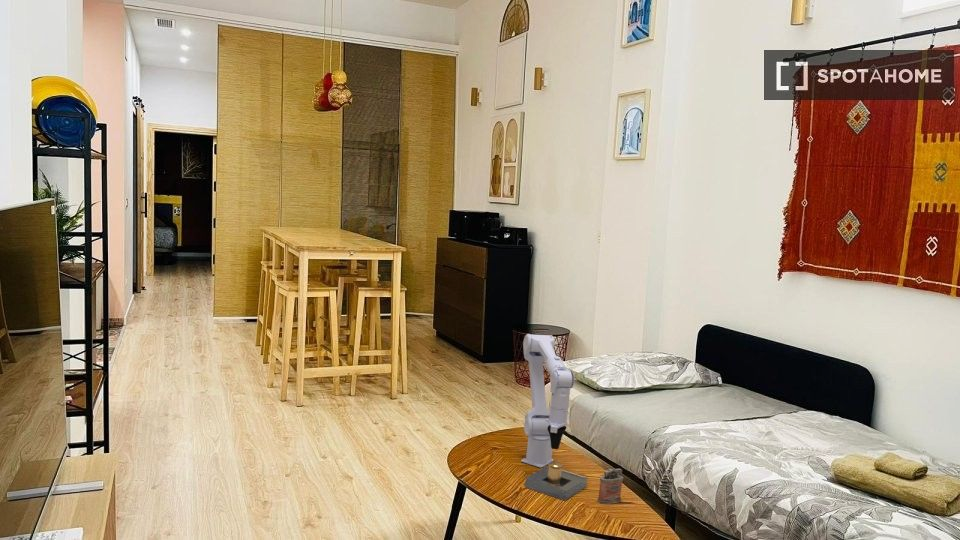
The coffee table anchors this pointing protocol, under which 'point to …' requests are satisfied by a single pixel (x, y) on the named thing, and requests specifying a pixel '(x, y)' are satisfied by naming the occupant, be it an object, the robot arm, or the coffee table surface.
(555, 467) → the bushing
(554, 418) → the robot arm
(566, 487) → the jig
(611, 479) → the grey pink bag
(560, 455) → the coffee table surface
